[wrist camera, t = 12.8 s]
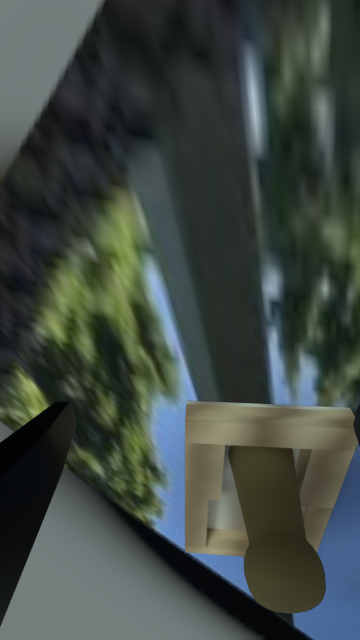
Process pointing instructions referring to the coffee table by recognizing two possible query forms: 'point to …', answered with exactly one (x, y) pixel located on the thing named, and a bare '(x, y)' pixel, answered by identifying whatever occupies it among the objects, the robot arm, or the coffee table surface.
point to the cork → (275, 531)
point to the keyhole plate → (263, 431)
